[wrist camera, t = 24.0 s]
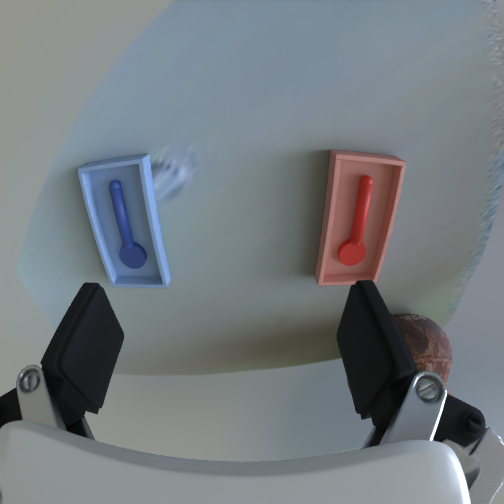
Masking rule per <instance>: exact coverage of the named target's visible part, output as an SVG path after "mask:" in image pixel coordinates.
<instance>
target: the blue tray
mask: <svg viewBox="0 0 504 504" xmlns="http://www.w3.org/2000/svg"><path fill="white" fill-rule="evenodd" d="M77 171H78V176H79V181H80V185H81V190H82V194H83V198H84V202H85V206H86V210H87V213H88V217H89V221H90V224H91V228H92V231H93V234H94V237H95V241H96V244H97V247H98V250H99V253H100V256H101V259H102V262H103V265H104V267H105V270H106V273H107V276H108V278H109V281H110V283H111V286H112V287H136V288H168V286H169V283H170V280H171V275H170V271H169V266H168V262H167V257H166V252H165V248H164V243H163V238H162V233H161V227H160V222H159V216H158V211H157V205H156V199H155V192H154V186H153V179H152V172H151V164H150V156H149V154H143V155H135V156H128V157H121V158H115V159H109V160H103V161H97V162H92V163H86V164H85V165H83V166H81V167H80V168H78V169H77ZM113 180H118V181H119V182H120V183H121V187H122V192H123V197H124V202H125V207H126V211H127V216H128V220H129V224H130V229H131V233H132V237H133V241H134V242H136V243H138V244H140V245H141V246H142V247H143V248H144V249H145V251H146V254H147V259H146V262H145V264H144V265H143V266H142V267H141V268H138V269H132V268H129V267H127V266H126V265H124V264H123V263H122V261H121V260H120V257H119V251H120V249H121V247H122V246H123V244H122V241H121V237H120V233H119V229H118V225H117V222H116V217H115V213H114V209H113V205H112V200H111V196H110V191H109V184H110V182H111V181H113Z"/></svg>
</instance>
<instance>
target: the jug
mask: <svg viewBox="0 0 504 504" xmlns="http://www.w3.org/2000/svg"><path fill="white" fill-rule="evenodd" d="M394 318H395V320H396V322H397V324H398V326H399V328H400V330H401V333H402V335H403V337H404V339H405V341H406V343H407V345H408V348H409V350H410V352H411V354H412V357H413V359H414V361H415V364H416V366H417V368H418V371H419V372H422V371H432V372H435V373H437V374H438V375H440V376H441V378H442V379H443V380H444V382H445V384H446V388H447V394H449V395H451V396H452V394H451V393H450V391H449V389H448V387H447V379H448V375H449V372H450V368H451V364H452V350H451V346H450V342H449V340H448V338H447V336H446V334H445V333H444V331H443V330H442V329H441V328H440V326H438V325H437V324H436V323H435V322H434V321H432V320H431V319H429V318H426V317H424V316H420V315H414V314H401V315H395V316H394ZM347 381H348V379H347ZM348 386H349V382H348ZM349 389H350V386H349ZM350 392H351V390H350Z"/></svg>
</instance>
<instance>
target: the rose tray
mask: <svg viewBox="0 0 504 504" xmlns="http://www.w3.org/2000/svg"><path fill="white" fill-rule="evenodd" d="M405 165H406V162H405V161H403V160H402V159H400V158H398V157H394V156H387V155H380V154H371V153H363V152H353V151H342V150H330V158H329V169H328V179H327V189H326V198H325V206H324V215H323V223H322V230H321V237H320V244H319V251H318V258H317V264H316V270H315V279H316V282H317V285H318V286H328V285H349V284H355V283H356V281H358V280H372V281H373V282H374V283H376V282H377V279H378V276H379V272H380V269H381V266H382V263H383V259H384V256H385V253H386V249H387V246H388V242H389V238H390V235H391V231H392V227H393V223H394V219H395V215H396V210H397V206H398V202H399V197H400V192H401V187H402V182H403V177H404V171H405ZM364 175H369V176H370V177H371V178H372V180H373V185H372V191H371V197H370V203H369V208H368V213H367V218H366V223H365V228H364V233H363V237H362V242H363V244H364V245H365V247H366V255H365V257H364V259H363V260H362V261H361V262H360V263H358V264H356V265H354V266H346V265H344V264H342V263H341V261H340V260H339V257H338V248H339V246H340V245H341V244H342V243H343V242H344V241H346V240H348V239H350V236H351V231H352V226H353V221H354V215H355V209H356V204H357V197H358V191H359V184H360V179H361V177H362V176H364Z"/></svg>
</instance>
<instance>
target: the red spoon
mask: <svg viewBox="0 0 504 504" xmlns="http://www.w3.org/2000/svg"><path fill="white" fill-rule="evenodd" d="M372 185H373V180H372V178H371V177H370V176H369V175H364V176H362V177H361V179H360V184H359V191H358V197H357V204H356V209H355V215H354V221H353V226H352V231H351V236H350V239H348V240H346V241H344V242H343V243H342V244H341V245H340V246H339V248H338V257H339V260H340V261H341V263H342V264H344V265H346V266H354V265H356V264H358V263H360V262H361V261H362V260H363V259H364V257H365V255H366V247H365V245H364V244H363V242H362V237H363V233H364V228H365V223H366V218H367V213H368V208H369V203H370V197H371V191H372Z"/></svg>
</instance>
